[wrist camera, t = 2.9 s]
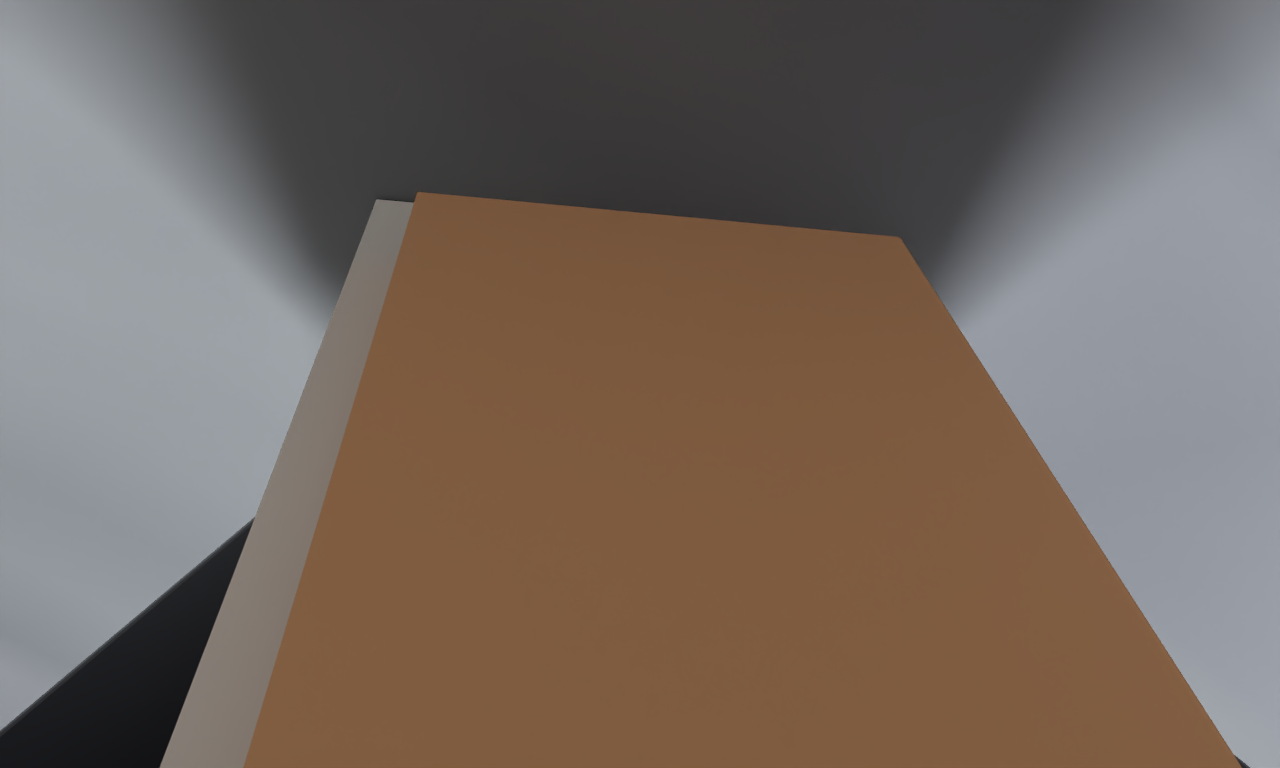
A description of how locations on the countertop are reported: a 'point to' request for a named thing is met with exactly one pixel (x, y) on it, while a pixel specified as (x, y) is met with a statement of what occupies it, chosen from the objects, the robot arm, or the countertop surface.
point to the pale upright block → (666, 523)
